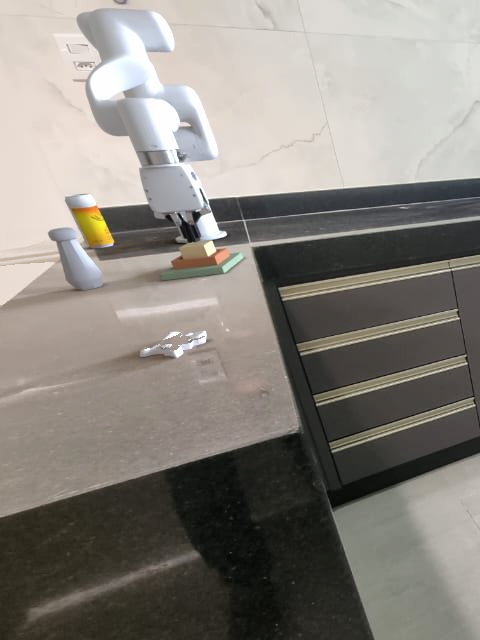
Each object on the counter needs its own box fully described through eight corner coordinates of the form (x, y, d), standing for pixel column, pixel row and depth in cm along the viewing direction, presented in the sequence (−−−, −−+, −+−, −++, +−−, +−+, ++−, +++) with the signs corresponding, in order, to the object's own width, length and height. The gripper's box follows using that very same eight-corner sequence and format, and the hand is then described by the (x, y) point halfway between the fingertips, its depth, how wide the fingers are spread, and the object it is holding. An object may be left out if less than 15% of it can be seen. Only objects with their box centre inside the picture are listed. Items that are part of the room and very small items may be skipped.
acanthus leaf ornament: (176, 339, 86) (172, 328, 85) (216, 338, 86) (211, 328, 85) (134, 358, 79) (128, 347, 78) (176, 358, 79) (171, 346, 78)
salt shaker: (85, 291, 114) (53, 231, 108) (64, 291, 115) (33, 231, 110) (114, 283, 119) (85, 225, 114) (94, 283, 120) (65, 225, 115)
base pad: (188, 264, 133) (182, 250, 132) (243, 258, 137) (238, 244, 136) (162, 280, 120) (155, 265, 118) (224, 273, 123) (218, 258, 122)
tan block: (195, 261, 130) (187, 242, 128) (219, 258, 131) (212, 240, 129) (186, 266, 125) (178, 247, 123) (211, 264, 126) (203, 245, 124)
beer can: (118, 245, 160) (94, 193, 153) (92, 249, 155) (66, 197, 149) (111, 243, 163) (87, 193, 156) (85, 247, 158) (59, 196, 152)
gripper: (206, 156, 123) (235, 235, 131) (127, 161, 119) (163, 242, 126) (195, 158, 117) (226, 240, 125) (111, 163, 112) (149, 248, 120)
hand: (194, 241), depth 125 cm, fingers closed
